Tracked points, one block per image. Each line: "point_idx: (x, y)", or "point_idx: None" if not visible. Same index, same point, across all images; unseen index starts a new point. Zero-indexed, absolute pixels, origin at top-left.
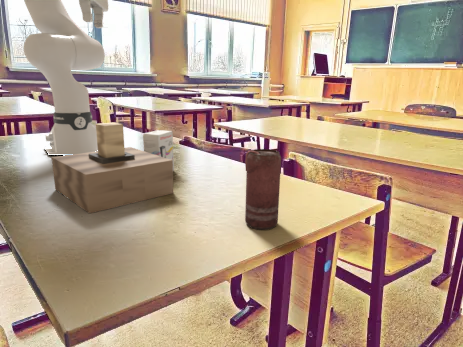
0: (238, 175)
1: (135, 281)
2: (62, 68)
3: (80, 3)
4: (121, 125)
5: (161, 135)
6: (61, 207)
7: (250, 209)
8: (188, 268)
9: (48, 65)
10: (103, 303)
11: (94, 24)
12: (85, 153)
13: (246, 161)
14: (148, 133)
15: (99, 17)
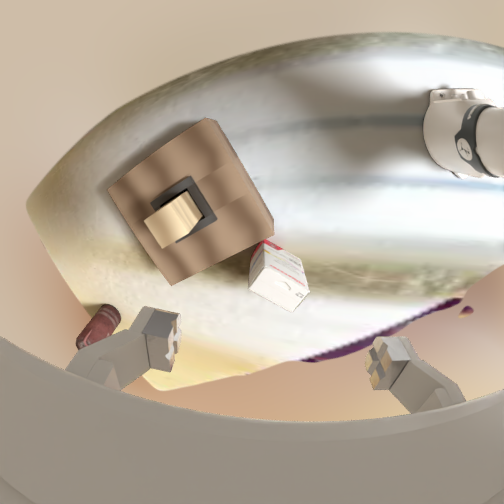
0: (247, 341)
1: (46, 228)
2: None
3: (79, 355)
4: (161, 245)
5: (256, 293)
6: (148, 146)
7: (97, 312)
8: (57, 255)
9: None
10: (34, 214)
11: (383, 343)
12: (228, 164)
13: (86, 334)
14: (266, 275)
15: (408, 393)
